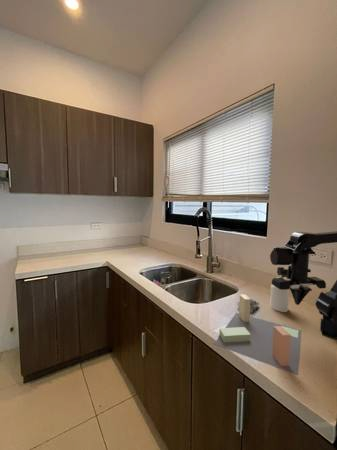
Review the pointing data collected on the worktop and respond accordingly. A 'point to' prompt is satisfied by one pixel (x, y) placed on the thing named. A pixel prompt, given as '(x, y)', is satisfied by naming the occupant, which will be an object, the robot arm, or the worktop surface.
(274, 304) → the pill bottle
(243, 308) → the sand tile
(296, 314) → the worktop surface
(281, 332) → the terracotta tile
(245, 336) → the sage tile
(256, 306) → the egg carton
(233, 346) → the mat
